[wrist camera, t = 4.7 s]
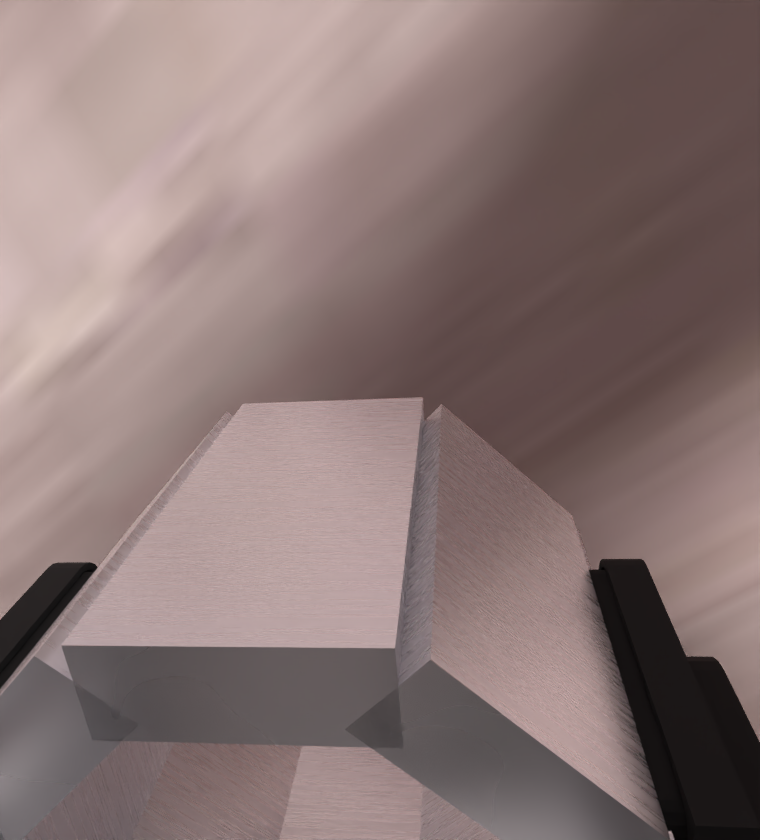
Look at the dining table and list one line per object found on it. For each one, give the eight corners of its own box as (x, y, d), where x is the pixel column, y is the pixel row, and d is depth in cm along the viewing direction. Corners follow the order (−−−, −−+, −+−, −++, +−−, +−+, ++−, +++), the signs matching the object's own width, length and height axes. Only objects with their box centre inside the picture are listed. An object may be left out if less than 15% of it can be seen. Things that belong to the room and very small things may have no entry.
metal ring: (99, 409, 10) (-192, 643, 6) (584, 391, 9) (712, 650, 5) (187, 751, 13) (40, 1098, 8) (568, 762, 12) (639, 1153, 7)
